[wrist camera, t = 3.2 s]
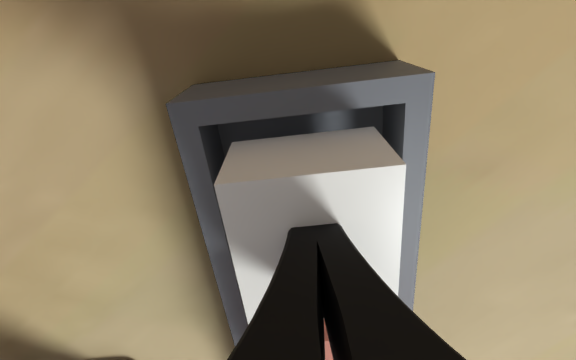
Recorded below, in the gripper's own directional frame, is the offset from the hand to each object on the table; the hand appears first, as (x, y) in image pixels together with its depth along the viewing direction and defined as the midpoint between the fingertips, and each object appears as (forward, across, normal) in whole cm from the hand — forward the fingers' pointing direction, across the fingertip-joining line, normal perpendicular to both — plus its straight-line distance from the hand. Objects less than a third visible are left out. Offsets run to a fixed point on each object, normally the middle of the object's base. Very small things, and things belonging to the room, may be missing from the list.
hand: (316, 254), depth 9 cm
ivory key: (+3, 0, 0) cm, 3 cm away
